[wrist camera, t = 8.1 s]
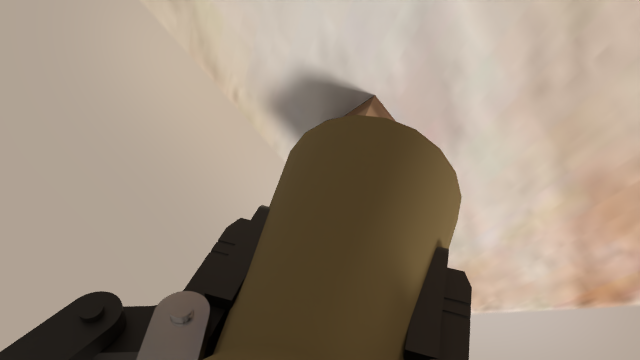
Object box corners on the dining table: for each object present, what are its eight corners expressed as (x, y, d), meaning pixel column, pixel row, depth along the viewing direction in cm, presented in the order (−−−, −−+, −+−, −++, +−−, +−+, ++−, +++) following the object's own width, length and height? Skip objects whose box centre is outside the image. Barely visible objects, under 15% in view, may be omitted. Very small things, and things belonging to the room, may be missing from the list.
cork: (332, 273, 19) (197, 641, 10) (252, 147, 16) (-14, 488, 8) (487, 244, 16) (484, 727, 7) (418, 86, 13) (288, 526, 5)
